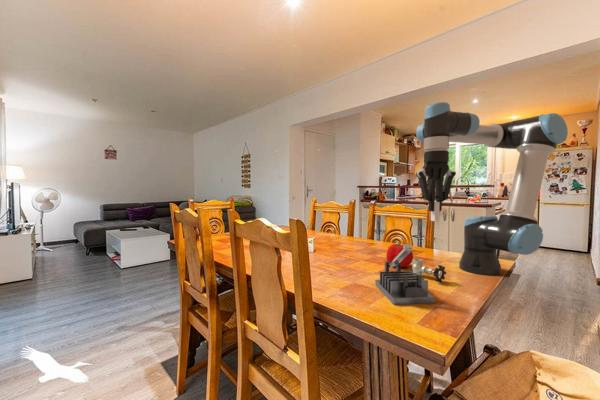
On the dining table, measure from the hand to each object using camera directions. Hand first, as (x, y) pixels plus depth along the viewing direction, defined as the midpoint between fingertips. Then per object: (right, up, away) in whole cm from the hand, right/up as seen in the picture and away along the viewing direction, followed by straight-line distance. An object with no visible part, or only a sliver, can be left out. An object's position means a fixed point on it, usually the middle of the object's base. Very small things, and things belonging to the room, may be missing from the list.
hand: (434, 220), depth 95 cm
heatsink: (-11, -25, 0) cm, 27 cm away
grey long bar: (-11, -13, +1) cm, 18 cm away
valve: (+4, -24, +15) cm, 29 cm away
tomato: (-1, -23, +31) cm, 39 cm away
